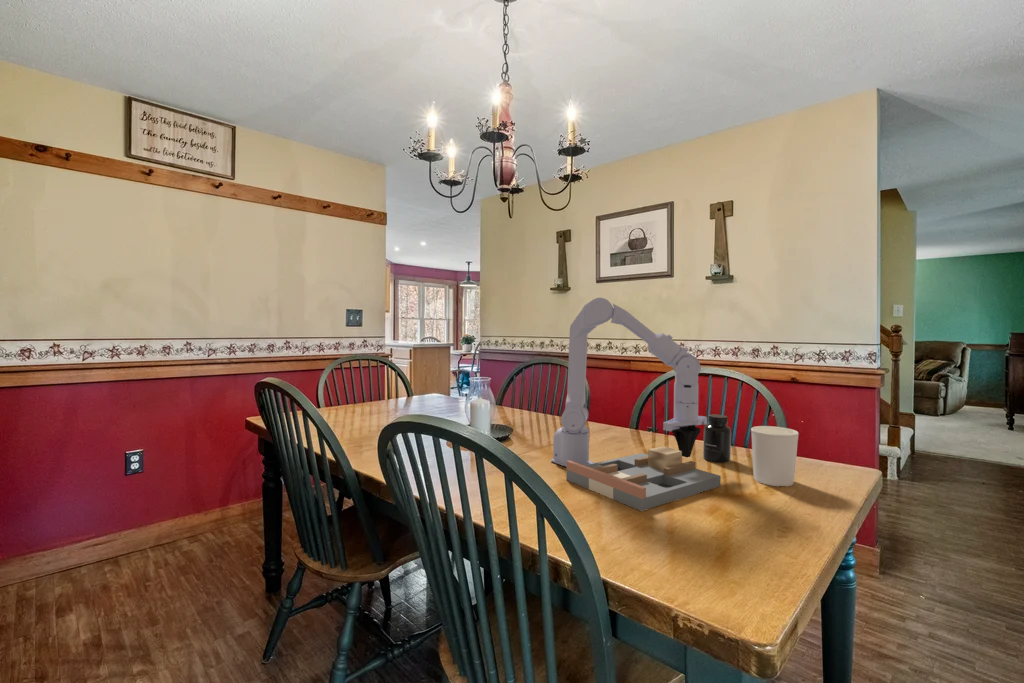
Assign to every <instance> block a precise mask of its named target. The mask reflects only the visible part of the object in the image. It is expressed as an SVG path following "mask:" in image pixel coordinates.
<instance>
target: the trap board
mask: <svg viewBox="0 0 1024 683" xmlns="http://www.w3.org/2000/svg"><path fill="white" fill-rule="evenodd" d="M696 464H697V462H695V461H694V460H693V461H692V460H690V461H685V462H682V463H681V464H677V465H673V466H669V467H665V468H664V471H663V470H660V469H656V468H653V467H650V466H648V453H647V454H646V453H644V452H641V453H640V452H639V453H636V454H631V455H627V456H622V457H618V458H612V459H608V460H605V461H603V460H602V461H600V462H599V461H598V462H595V463H593V464H589V465H582V464H580V463H577V462H574V461H571V460H569V461H567V467H566V472H565V473H566V477H565V478H566V480H567V481H568V482H571V483H573V484H574V485H575V484H576V485H578V486H580V487H582V488H585V489H587V490H591V491H593V492H594V491H595V492H594V493H597V494H599V493H600V495H602V496H604V495H605V496H604V497H606V496H607V498H609V499H611V498H612V499H611V500H614V501H616V500H617V501H616V502H618V501H619V502H618V503H621V504H624V505H625V504H626V506H629V507H630V506H631V507H630V508H633V509H635V510H637V509H638V510H637V511H640V512H644V511H647V510H650V508H651V509H653V508H652V507H654V508H656V507H655V506H657V507H659V506H658V505H660V506H662V505H661V504H663V505H666V504H665V503H667V504H668V502H670V503H672V501H673V502H676V501H679V500H682V499H685V498H689V497H692V496H695V495H698V494H701V493H700V492H702V493H704V492H703V491H705V492H708V491H711V490H713V488H714V489H717V488H716V487H718V488H720V487H721V480H722V479H721V475H720V474H716V473H712V472H710V471H707V470H702V469H699V468H696ZM710 489H711V490H710ZM707 490H708V491H707ZM691 495H692V496H691ZM678 499H679V500H678ZM675 500H676V501H675ZM646 509H647V510H646Z"/></svg>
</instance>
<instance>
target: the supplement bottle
mask: <svg viewBox="0 0 1024 683" xmlns="http://www.w3.org/2000/svg"><path fill="white" fill-rule="evenodd" d="M728 424H729V422H728V416H727V415H724V414H709V415H708V416H707V424H706V425H704V428H703V447H702V448H703V452H702V456H703V459H705V460H706V461H709V462H711V463H712V462H713V463H721V464H723V463H728V462H730V460H731V450H732V449H731V447H732V430H731V428H730V426H729V425H728Z"/></svg>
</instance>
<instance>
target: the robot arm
mask: <svg viewBox="0 0 1024 683" xmlns="http://www.w3.org/2000/svg"><path fill="white" fill-rule="evenodd" d="M608 321H610V323H611V324H616V325H620V326H621V325H622V326H623V327H624V328H626V329H627V330H629V331H630V332H631V333H633V334H634V335H635V336H637V338H640V339H641V340H642V341H643V342H645V343H646V344H647V349H648V352H649V353H651V354H652V355H653V356H654V357H656V358H657V359H659V361H661V362H662V363H663V364H665V365H666V366H668V367H672V369H673V370H674V383H673V418H671V419H669V420H667V421H663V428H662V430H663V431H667V432H672V434H673V436H674V439H675V440H676V444H677V447H678V448H677V449H678V450H679V451H682V457H684V458H690V457H691V455H692V453H693V452H692V451H693V448H694V445H695V443H696V440H697V438H698V436H699V435H700V433H701V428H700V427H696V426H701V425H704V426H706V425H707V424H708V416H703V415H699V387H700V386H699V374H700V373H701V371H702V370H701V369H702V366H701V364H700V361H699V359H698V358H697V357H695V355H693V354H692V353H690V352H688V351H689V349H688V348H686V347H682V346H681V345H680V344H679V343H677V342H675V341H674V340H673V336H672V335H670V334H669V333H668V334H667V335H666V334H665V333H664V332H663V333H655V332H653V331H652V330H651V329H650V328H648V326H646V325H645V324H643V322H641V321H640V320H639V319H637V318H636V317H635V316H634V315H632V314H631V313H630V312H629V311H627V310H626V309H624V308H622V307H621V306H618V305H616V304H614V303H611V302H610V301H609V300H608V299H606V298H604V297H595V298H592V300H590V301H589V302H587V303H585V304H584V305H583V307H582V309H581V310H579V313H578V314H577V316H576V317H575V318H574V320H573V321H572V322H571V324H570V326H569V341H568V343H569V344H568V366H567V368H568V369H567V387H566V388H567V395H566V398H565V407H564V410H563V413H562V415H561V416H560V417H561V418H560V420H561V421H560V422H561V427H559V428H558V429H557V430H556V431H555V432H554V435H553V442H552V443H553V451H552V452H553V453H552V454H553V455H552V456H553V457H552V459H550V462H552V463H555V464H557V465H559V466H560V465H561V466H563V467H565V468H567V461H569V460H571V461H574V462H577V463H580V464H582V465H589V464H593V463H596V462H594V461H592V460H590V428H588V426H587V425H586V424H587V421H588V419H589V415H590V414H589V411H588V408H587V405H586V404H587V403H586V402H587V401H586V383H587V381H586V379H587V359H588V358H587V357H588V356H587V354H588V337H589V336H588V335H589V334H590V333H591V332H592V331H594V330H595V328H597V327H598V326H600V325H603V324H604V323H607V322H608Z"/></svg>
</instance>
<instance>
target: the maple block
mask: <svg viewBox="0 0 1024 683" xmlns="http://www.w3.org/2000/svg"><path fill="white" fill-rule="evenodd" d="M647 455H648V466H650V467H653V468H656V469H660V470H663V471H664V468H665V467H669V466H673V465H677V464H681V463H683V462H682V460H683V458H682V457H683V456H682V451H679V449H675V448H671V447H668V446H659V447H653V448H650V449H648V450H647Z"/></svg>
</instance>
